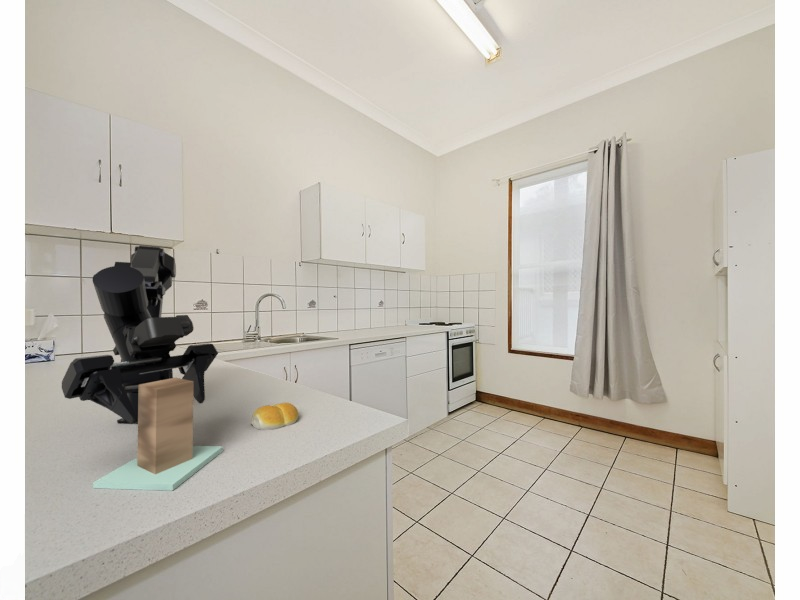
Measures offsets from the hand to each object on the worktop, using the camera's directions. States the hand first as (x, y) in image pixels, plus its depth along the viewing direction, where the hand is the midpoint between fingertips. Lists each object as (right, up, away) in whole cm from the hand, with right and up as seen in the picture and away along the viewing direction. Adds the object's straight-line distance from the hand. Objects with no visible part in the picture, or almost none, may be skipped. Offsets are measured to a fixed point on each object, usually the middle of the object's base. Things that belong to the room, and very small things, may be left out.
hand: (171, 410), depth 47 cm
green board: (-1, -9, +1) cm, 9 cm away
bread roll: (+8, -10, +19) cm, 23 cm away
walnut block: (-1, -8, +1) cm, 8 cm away
